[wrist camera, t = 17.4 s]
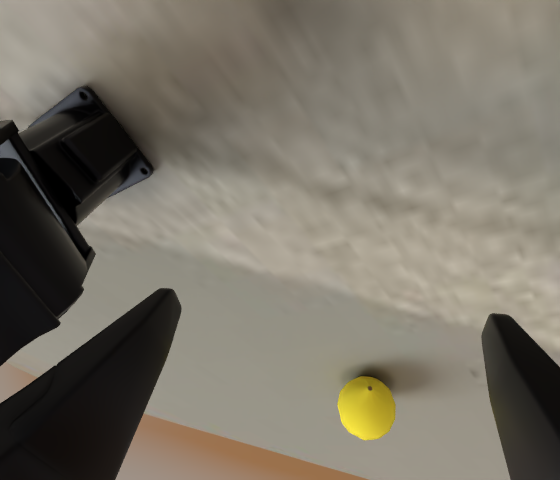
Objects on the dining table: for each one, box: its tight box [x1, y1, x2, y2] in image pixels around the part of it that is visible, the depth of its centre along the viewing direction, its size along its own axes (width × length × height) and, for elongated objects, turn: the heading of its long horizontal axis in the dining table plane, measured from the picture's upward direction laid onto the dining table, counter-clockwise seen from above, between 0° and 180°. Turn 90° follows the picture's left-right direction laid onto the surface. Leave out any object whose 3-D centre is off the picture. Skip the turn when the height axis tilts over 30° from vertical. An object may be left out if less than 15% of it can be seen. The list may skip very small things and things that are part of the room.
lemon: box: [337, 376, 395, 440], centre depth 33 cm, size 7×5×5 cm
